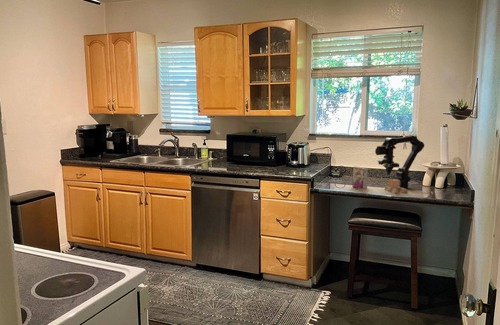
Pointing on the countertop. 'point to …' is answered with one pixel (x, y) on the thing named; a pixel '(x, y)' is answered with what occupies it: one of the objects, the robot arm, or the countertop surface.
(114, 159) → the countertop surface
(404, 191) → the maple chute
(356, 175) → the candy bar box
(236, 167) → the countertop surface
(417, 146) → the robot arm
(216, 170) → the countertop surface
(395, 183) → the terracotta block
